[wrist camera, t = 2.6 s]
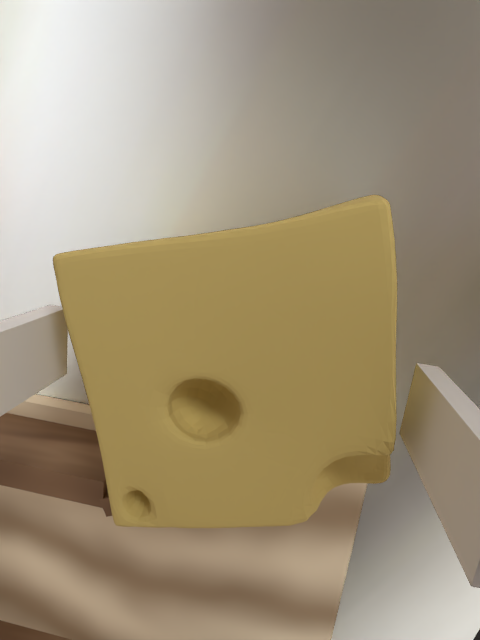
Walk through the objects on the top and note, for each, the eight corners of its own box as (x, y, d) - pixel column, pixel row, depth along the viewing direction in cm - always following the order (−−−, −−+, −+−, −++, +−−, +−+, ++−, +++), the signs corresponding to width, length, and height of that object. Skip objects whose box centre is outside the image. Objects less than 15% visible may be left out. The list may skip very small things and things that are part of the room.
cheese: (371, 401, 22) (419, 543, 12) (180, 411, 24) (95, 540, 14) (358, 201, 20) (405, 186, 10) (147, 230, 22) (20, 241, 12)
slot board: (-80, 371, 26) (-190, 415, 20) (368, 458, 23) (388, 540, 17) (-59, 614, 31) (-141, 703, 26) (309, 714, 28) (309, 844, 22)
